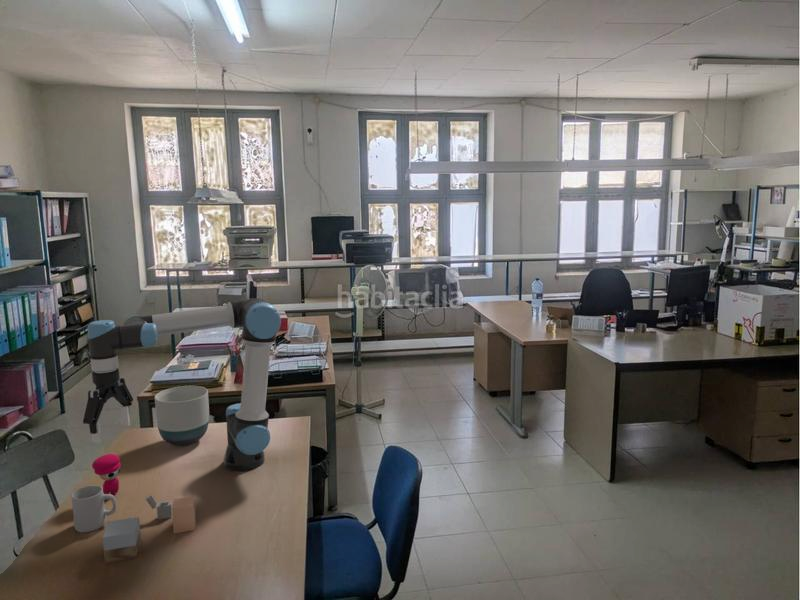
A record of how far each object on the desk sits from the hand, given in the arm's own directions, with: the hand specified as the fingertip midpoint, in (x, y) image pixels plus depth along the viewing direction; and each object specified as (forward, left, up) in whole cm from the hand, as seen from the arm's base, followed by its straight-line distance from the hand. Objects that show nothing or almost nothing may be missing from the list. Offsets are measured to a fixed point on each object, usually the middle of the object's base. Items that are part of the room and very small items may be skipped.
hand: (111, 433), depth 174 cm
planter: (-17, -46, -26) cm, 55 cm away
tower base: (-6, +27, -26) cm, 37 cm away
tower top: (-6, +27, -22) cm, 35 cm away
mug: (+5, +9, -26) cm, 28 cm away
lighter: (-14, +11, -26) cm, 31 cm away
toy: (+4, -7, -26) cm, 27 cm away
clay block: (-22, +19, -26) cm, 38 cm away
